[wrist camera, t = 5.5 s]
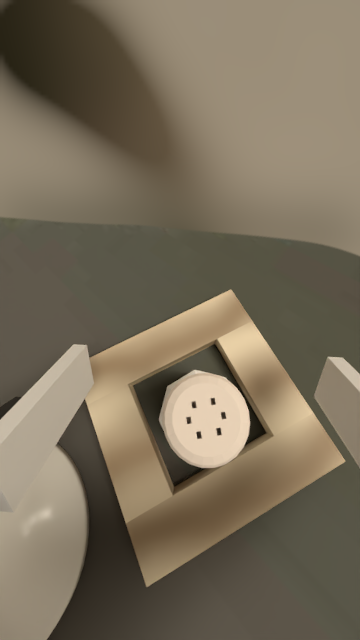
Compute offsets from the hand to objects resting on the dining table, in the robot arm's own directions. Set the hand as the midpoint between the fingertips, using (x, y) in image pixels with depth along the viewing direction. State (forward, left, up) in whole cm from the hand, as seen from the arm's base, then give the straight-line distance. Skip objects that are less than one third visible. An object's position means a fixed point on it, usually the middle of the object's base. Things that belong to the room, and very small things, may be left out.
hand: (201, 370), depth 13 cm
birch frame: (+2, -1, -6) cm, 6 cm away
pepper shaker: (+2, -1, -6) cm, 6 cm away
